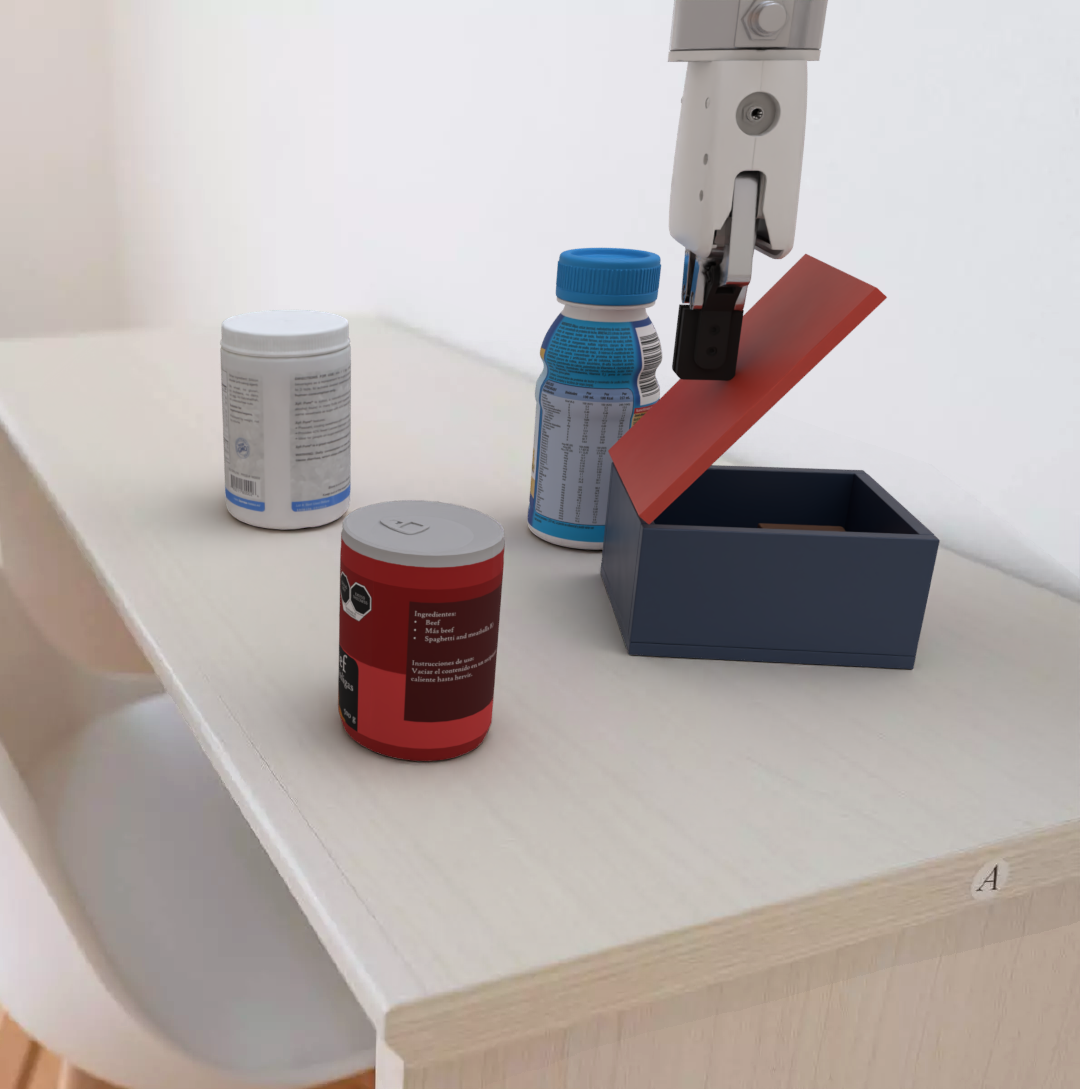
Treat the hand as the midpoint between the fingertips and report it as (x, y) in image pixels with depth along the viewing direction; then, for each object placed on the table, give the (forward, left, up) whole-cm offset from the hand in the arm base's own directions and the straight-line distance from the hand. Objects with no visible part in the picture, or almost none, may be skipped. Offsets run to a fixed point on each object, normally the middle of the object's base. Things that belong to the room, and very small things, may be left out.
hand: (702, 376), depth 71 cm
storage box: (-4, 0, -15) cm, 16 cm away
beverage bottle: (+4, -14, -15) cm, 21 cm away
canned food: (+16, +16, -15) cm, 27 cm away
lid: (-2, 0, -1) cm, 2 cm away
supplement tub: (+26, -16, -15) cm, 34 cm away
